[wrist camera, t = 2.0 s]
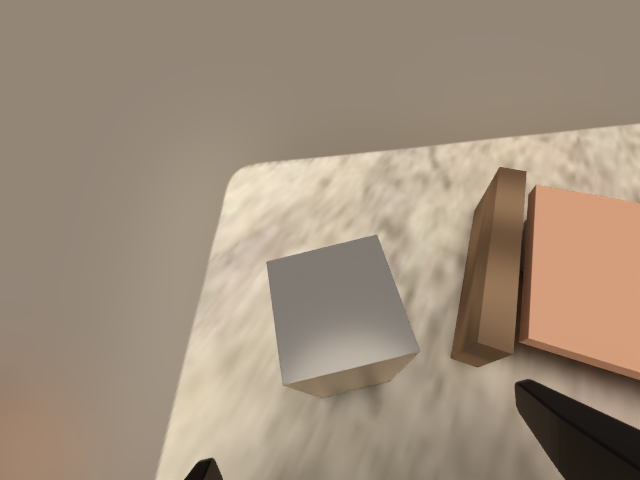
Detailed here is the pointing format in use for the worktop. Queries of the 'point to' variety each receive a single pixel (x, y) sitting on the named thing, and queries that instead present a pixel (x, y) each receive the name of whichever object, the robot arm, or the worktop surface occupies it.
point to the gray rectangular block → (339, 319)
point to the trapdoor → (582, 278)
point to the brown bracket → (492, 273)
